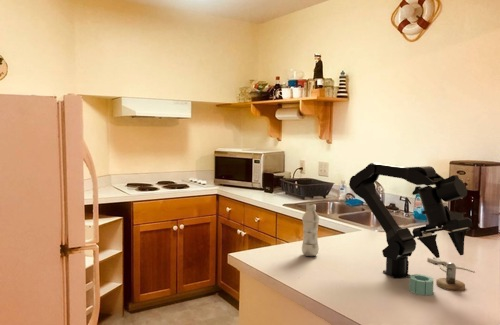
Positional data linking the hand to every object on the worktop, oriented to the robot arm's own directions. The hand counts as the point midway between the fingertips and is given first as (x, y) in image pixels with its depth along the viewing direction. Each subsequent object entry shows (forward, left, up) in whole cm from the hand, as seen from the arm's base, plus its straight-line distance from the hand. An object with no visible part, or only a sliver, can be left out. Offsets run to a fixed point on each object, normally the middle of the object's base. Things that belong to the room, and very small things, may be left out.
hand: (449, 256), depth 117 cm
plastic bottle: (-24, +44, -11) cm, 52 cm away
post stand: (+5, +4, -11) cm, 13 cm away
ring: (-7, +3, -11) cm, 13 cm away
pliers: (+18, +19, -12) cm, 29 cm away
